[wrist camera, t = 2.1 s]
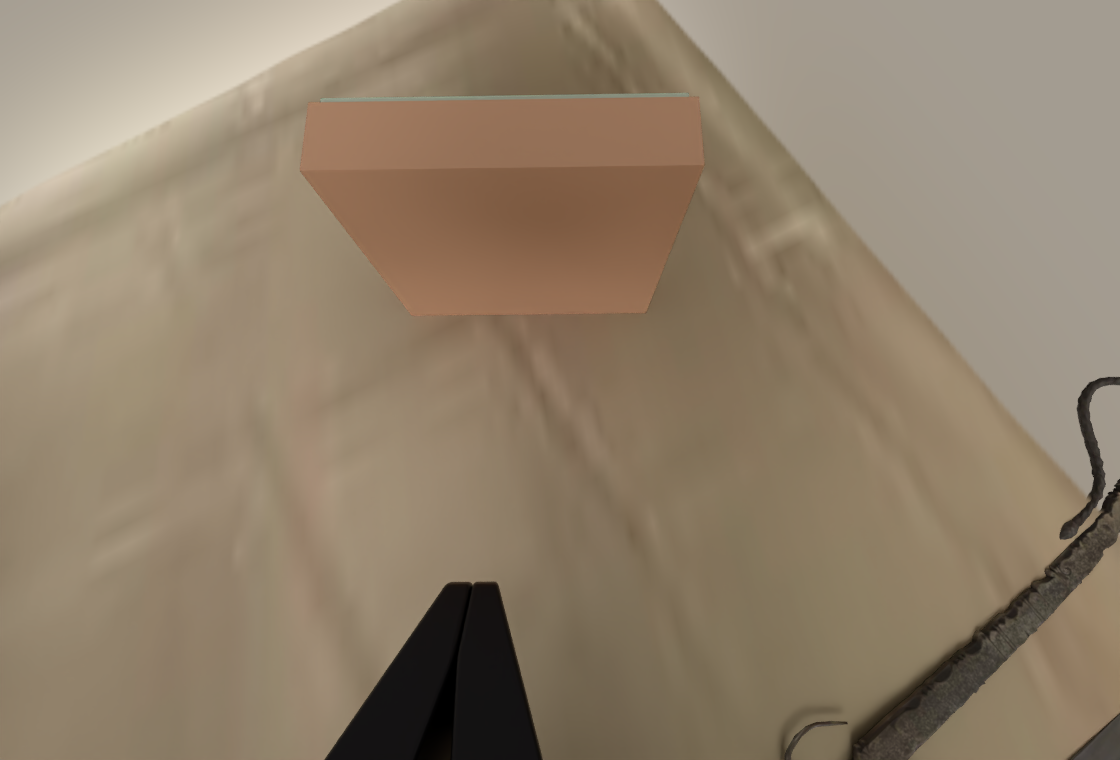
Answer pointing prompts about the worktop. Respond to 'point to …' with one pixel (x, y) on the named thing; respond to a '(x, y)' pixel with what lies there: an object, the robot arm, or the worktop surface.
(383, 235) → the tile
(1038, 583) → the hacksaw
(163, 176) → the worktop surface
